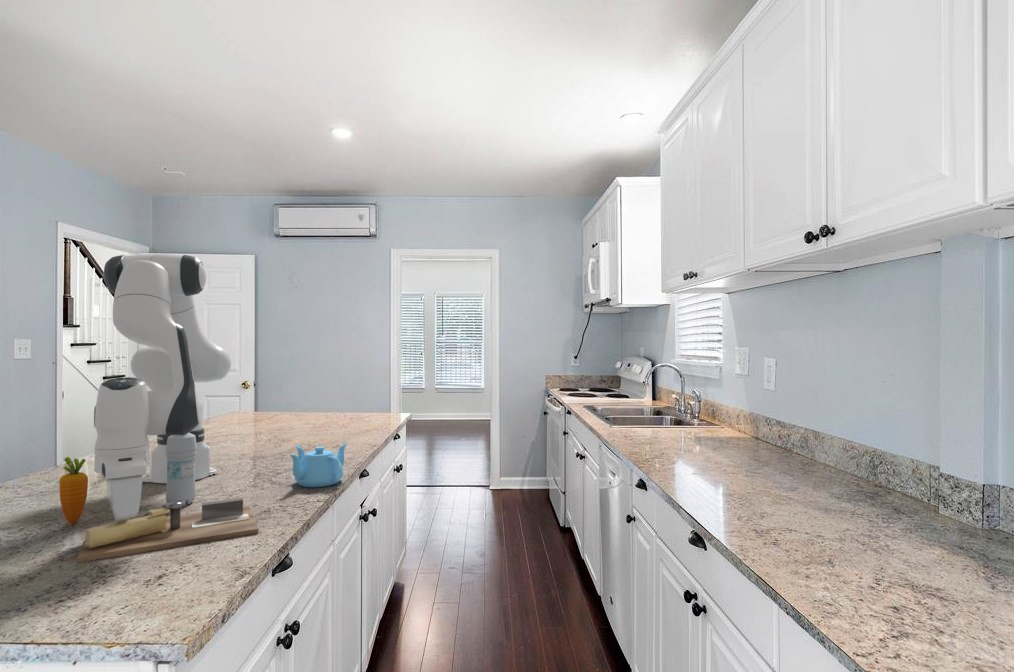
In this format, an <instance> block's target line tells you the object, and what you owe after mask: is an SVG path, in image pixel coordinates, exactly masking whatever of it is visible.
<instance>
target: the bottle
mask: <svg viewBox="0 0 1014 672" xmlns="http://www.w3.org/2000/svg"><path fill="white" fill-rule="evenodd" d="M196 450H197V444H196V437H195V435H193V434H191V433H187V434H185V435H171V436H169V437H168V439H167V445H166V457H167V483H166V488H165V489H166V490H165V502H166V503H168V502H171V501H177V500H184V501H186V504H185V505H190V504H191V503H192V502H193V501H195V498H196V480H195V455H196V453H197V452H196Z"/></svg>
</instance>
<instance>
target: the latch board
mask: <svg viewBox="0 0 1014 672" xmlns="http://www.w3.org/2000/svg"><path fill="white" fill-rule="evenodd" d="M169 513H170V516H166V530H163V531H159V532H155V533H151V534H146V535H142V536H138V537H134V538H130V539H126V540H122V541H118V542H113V543H109V544H105V545H101V546H97V547H93V548H88V547H87V546H86V540H85V541H84V543H83V545H82V547H81V549H80V552H79V553H78V555H77V563H85V561H86V562H91V560H92V561H97V560H96V559H98V560H103V558H104V559H110V558H115V556H116V557H121V556H128V555H134V554H140V553H146V552H151V550H153V551H158V549H159V550H164V548H165V549H169V548H170V547H171V548H177V547H183V546H189V545H188V544H190V545H196V544H200V543H201V542H202V543H206V542H215V541H220V540H225V539H230V538H231V539H232V538H237V537H244V536H250V535H257V534H259V531H260V530H259V529H260V528H259V525H258V524H257V522H256V519H255V517H254V514H253V512H252V509H251V506H250V505H245V506H244V499H243V497H238V498H231V499H223V500H215V501H209V502H208V501H206V502H202V504H201V512H196V513H188V514H181V509H178V510H170V512H169ZM95 527H96V526H94V527H92V528H95ZM195 543H196V544H195ZM171 548H170V549H171ZM109 557H110V558H109Z"/></svg>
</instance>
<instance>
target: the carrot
mask: <svg viewBox="0 0 1014 672" xmlns="http://www.w3.org/2000/svg"><path fill="white" fill-rule="evenodd" d="M63 460H64V462H65V463H66V464H67V466H63V470H65V471H66V472H68V473H67V474H63V475H62V476H61V477H60V478H59V481H58V482H59V488H58V489H59V499H60V500H59V501H60V505H61V510H62V513H63V515H64V518H65V520H66V521H67V523H68V525H70V526H72V527H74V526H76V524H77V523H78V522H79V520H80V519H81V517H82V514H83V512H84V511H85V510H84V509H85V506H86V502H87V496H88V486H89V484H88V483H89V476H88V475H87V474H86V473H84V472H83V471H82V472H80V471H81V468H82V467H83V465H84V464H85V462H86V459H85V458H82V459H81V460H79V458H73V460H72V459H71V458H70V457H69V456H67V457H65V458H64V459H63ZM73 462H74V463H73Z"/></svg>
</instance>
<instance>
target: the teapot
mask: <svg viewBox="0 0 1014 672" xmlns="http://www.w3.org/2000/svg"><path fill="white" fill-rule="evenodd" d="M347 445H348V442H345V443H343V444H342V445H340V447H339V448H338V452H337V454H336V453H335V452H334V451H332V450H325V447H324V446H316V447H314V450H313V451H307V452H306V453H305V451H304V449H303V447H302V446H301V445H296V444H295V445H294V446H295V448H296V450H297V453H298V455H296V454H290V453H289V456H290V457H291V458H292V462H293V463H292V474H293V476H294V480H295V481H296V482H297V484H298V485H299V486H301V487H304V488H321V487H322V488H323V487H328V486H333V485H336V484H338V483H339V482H340V481H341V479H342V478H343V476H344V469H343V466H344V463H345V449H346V446H347Z"/></svg>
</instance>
